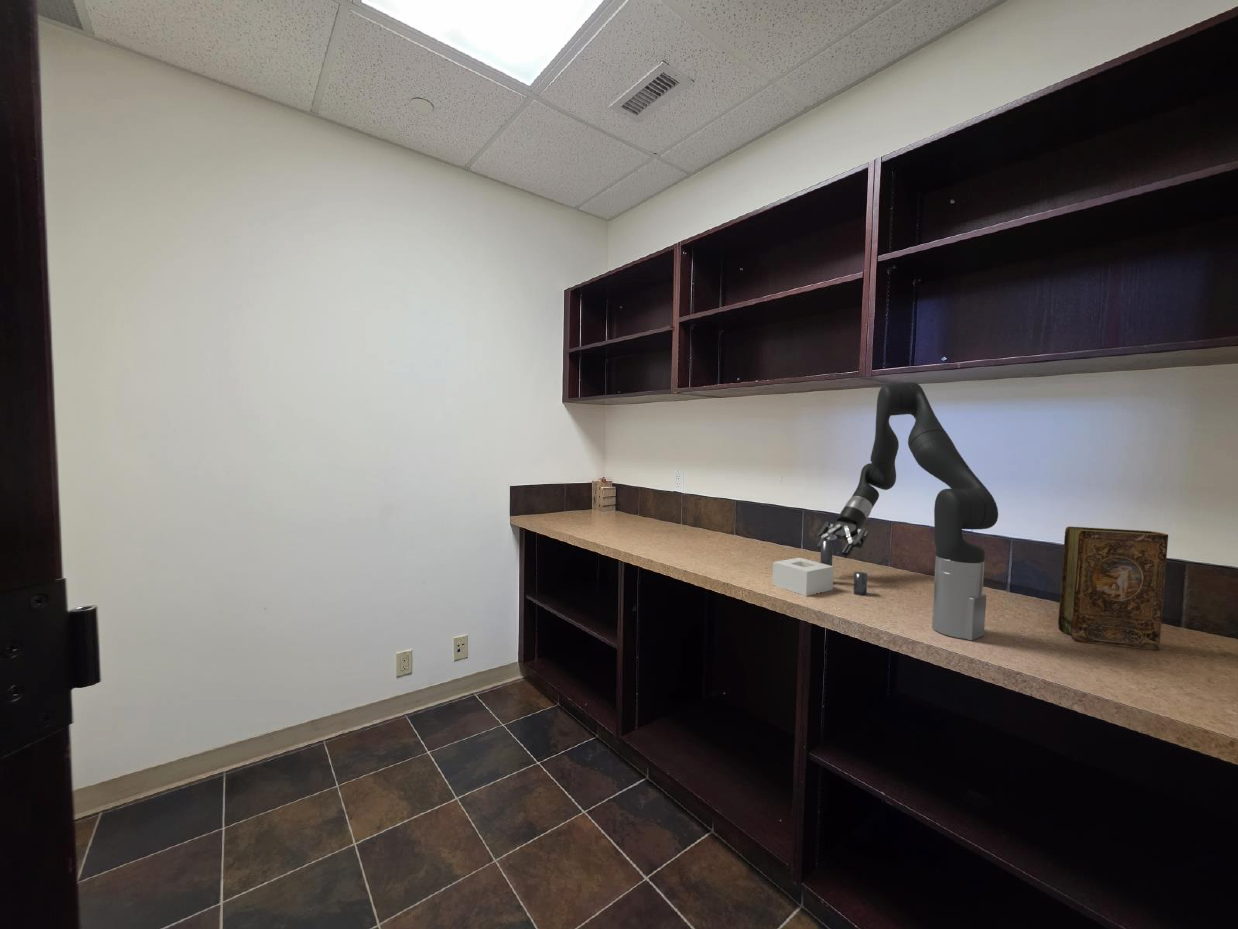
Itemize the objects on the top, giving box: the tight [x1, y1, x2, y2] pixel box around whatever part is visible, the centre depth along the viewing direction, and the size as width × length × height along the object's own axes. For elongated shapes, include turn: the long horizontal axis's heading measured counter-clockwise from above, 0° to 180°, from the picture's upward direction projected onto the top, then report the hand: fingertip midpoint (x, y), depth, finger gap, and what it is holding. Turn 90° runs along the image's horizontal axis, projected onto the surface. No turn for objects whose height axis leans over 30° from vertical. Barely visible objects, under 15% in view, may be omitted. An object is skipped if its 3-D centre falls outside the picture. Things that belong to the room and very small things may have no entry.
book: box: [1057, 526, 1169, 651], centre depth 110 cm, size 16×6×25 cm, turn 73°
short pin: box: [852, 571, 869, 597], centre depth 142 cm, size 3×3×6 cm
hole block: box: [771, 557, 835, 597], centre depth 147 cm, size 12×12×7 cm
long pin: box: [819, 539, 834, 566], centre depth 152 cm, size 3×3×13 cm
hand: (831, 552), depth 153 cm, fingers open, 8 cm apart
